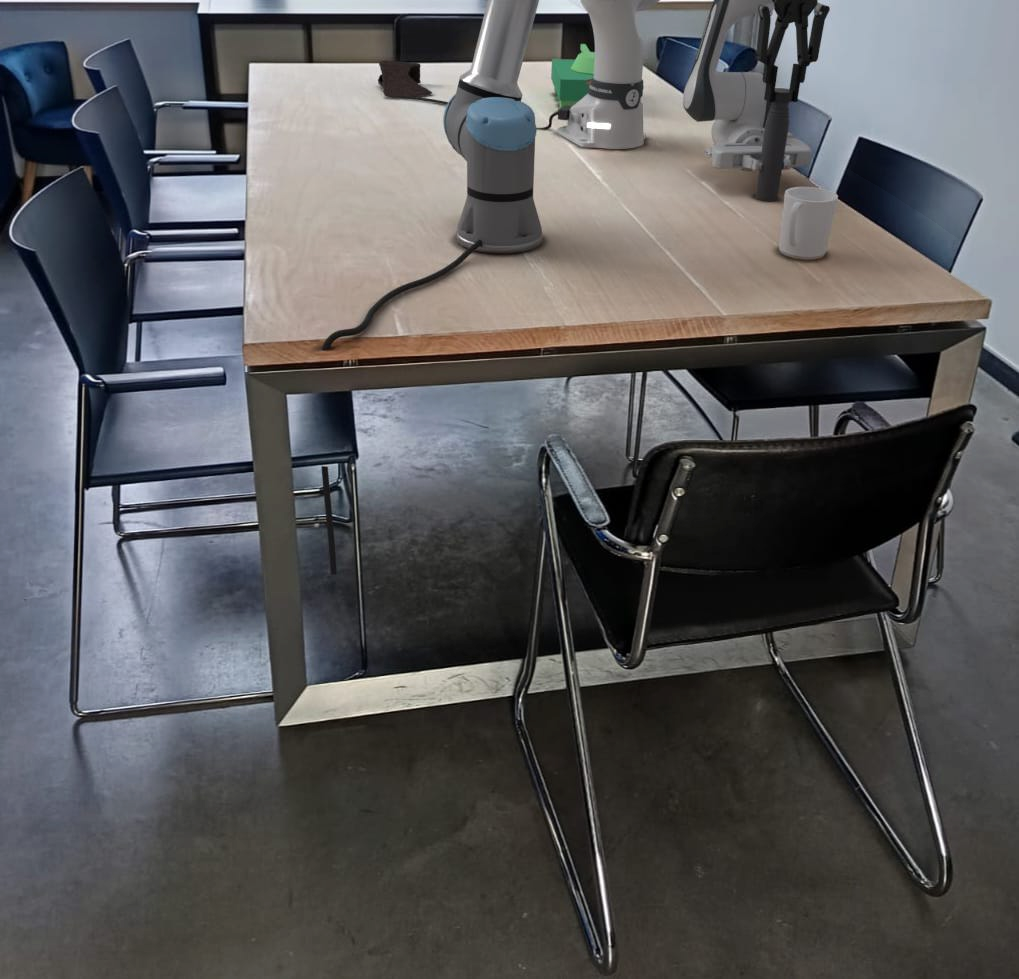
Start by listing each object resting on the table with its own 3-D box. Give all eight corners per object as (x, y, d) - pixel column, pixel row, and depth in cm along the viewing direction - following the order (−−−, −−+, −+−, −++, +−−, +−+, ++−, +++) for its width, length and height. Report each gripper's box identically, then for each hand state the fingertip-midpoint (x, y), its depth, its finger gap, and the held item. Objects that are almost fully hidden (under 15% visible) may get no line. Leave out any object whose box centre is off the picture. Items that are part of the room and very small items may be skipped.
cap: (796, 100, 211) (798, 91, 210) (782, 103, 209) (783, 93, 208) (778, 96, 214) (780, 87, 213) (764, 99, 212) (766, 89, 211)
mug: (790, 240, 199) (799, 183, 193) (836, 251, 194) (846, 193, 188) (761, 255, 191) (769, 197, 186) (808, 267, 186) (818, 208, 181)
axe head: (443, 87, 294) (392, 77, 287) (436, 115, 299) (385, 106, 292) (421, 62, 307) (371, 52, 300) (414, 89, 311) (365, 80, 304)
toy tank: (613, 40, 304) (631, 65, 274) (610, 86, 310) (627, 115, 281) (550, 39, 303) (561, 63, 273) (548, 85, 309) (558, 114, 280)
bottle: (752, 199, 221) (767, 94, 210) (758, 193, 224) (773, 89, 213) (774, 202, 219) (790, 96, 208) (780, 196, 222) (796, 92, 212)
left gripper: (762, -30, 195) (745, 106, 207) (853, -30, 198) (830, 104, 210) (747, -35, 201) (731, 97, 213) (834, -35, 204) (814, 95, 216)
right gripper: (703, 133, 226) (724, 151, 214) (798, 132, 229) (823, 149, 217) (700, 164, 229) (720, 183, 218) (793, 162, 232) (818, 180, 220)
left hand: (780, 100), depth 212 cm, fingers closed on cap, 4 cm apart
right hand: (773, 166), depth 217 cm, fingers closed on bottle, 4 cm apart
